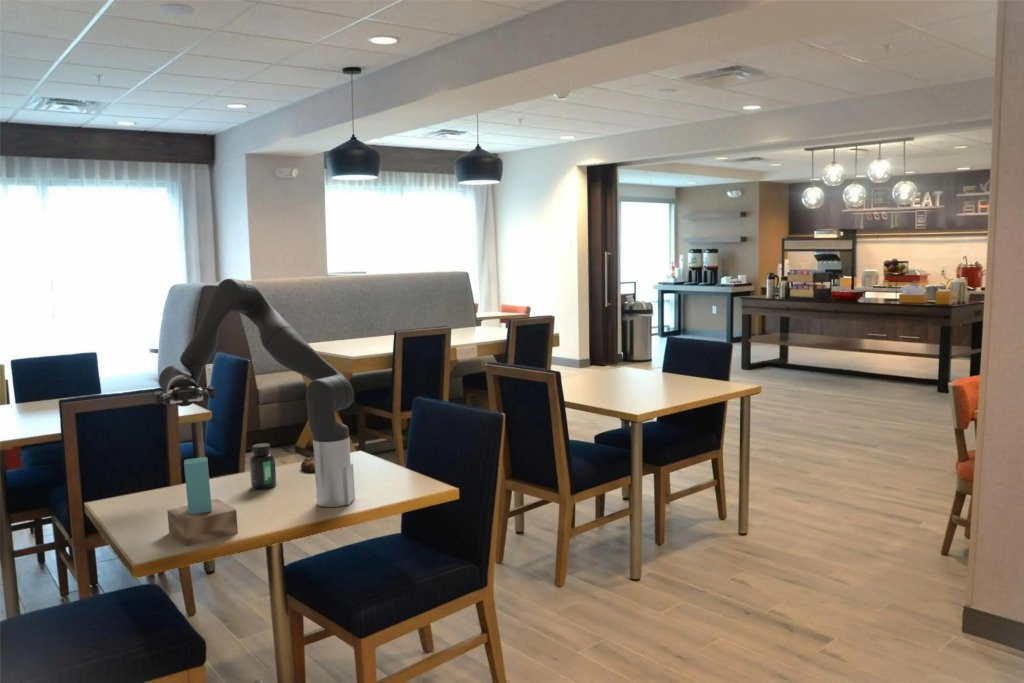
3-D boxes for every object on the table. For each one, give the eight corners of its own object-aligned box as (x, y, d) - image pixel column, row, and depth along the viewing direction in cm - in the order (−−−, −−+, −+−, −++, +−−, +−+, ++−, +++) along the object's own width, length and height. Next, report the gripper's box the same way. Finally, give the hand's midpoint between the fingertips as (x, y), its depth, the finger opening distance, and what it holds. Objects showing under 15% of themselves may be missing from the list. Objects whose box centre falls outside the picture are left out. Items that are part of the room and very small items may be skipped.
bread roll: (292, 471, 243) (293, 455, 243) (314, 467, 253) (315, 451, 253) (324, 475, 239) (325, 458, 239) (344, 470, 249) (345, 454, 249)
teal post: (211, 505, 193) (207, 456, 192) (211, 511, 189) (207, 461, 187) (189, 508, 192) (184, 459, 190) (188, 514, 187) (184, 464, 186)
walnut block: (219, 522, 199) (217, 498, 199) (238, 534, 190) (236, 509, 190) (169, 534, 192) (167, 510, 191) (186, 547, 183) (184, 522, 182)
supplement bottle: (274, 489, 225) (271, 447, 224) (249, 490, 224) (246, 448, 223) (278, 482, 232) (275, 441, 230) (253, 484, 231) (251, 443, 230)
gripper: (152, 378, 212) (154, 387, 197) (209, 373, 218) (216, 381, 203) (155, 406, 213) (157, 417, 198) (212, 400, 219) (218, 410, 204)
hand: (187, 399), depth 201 cm, fingers open, 8 cm apart
